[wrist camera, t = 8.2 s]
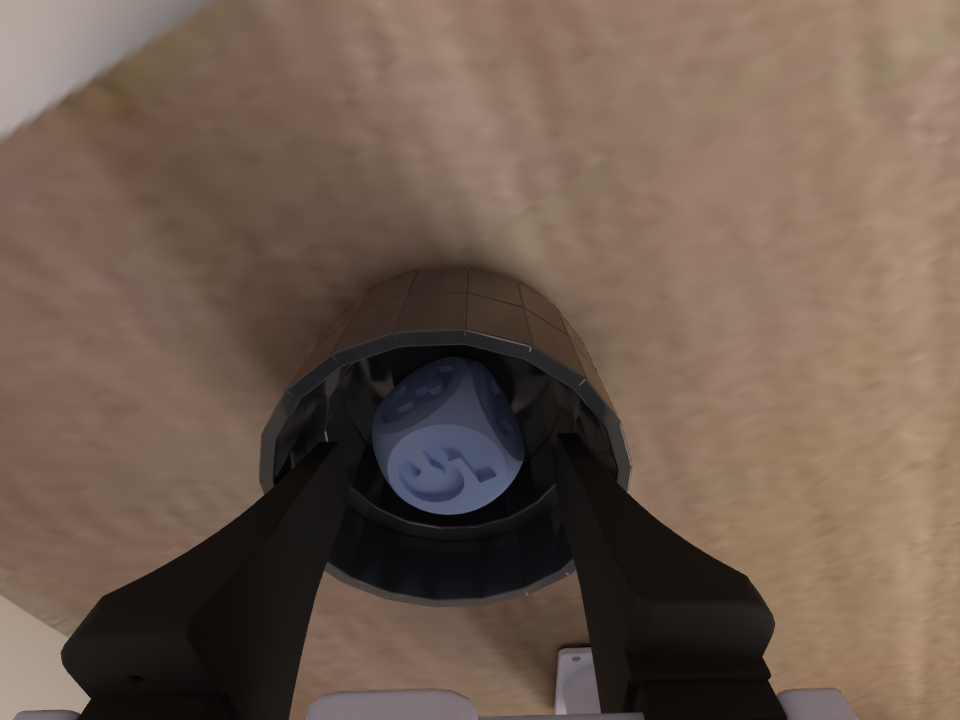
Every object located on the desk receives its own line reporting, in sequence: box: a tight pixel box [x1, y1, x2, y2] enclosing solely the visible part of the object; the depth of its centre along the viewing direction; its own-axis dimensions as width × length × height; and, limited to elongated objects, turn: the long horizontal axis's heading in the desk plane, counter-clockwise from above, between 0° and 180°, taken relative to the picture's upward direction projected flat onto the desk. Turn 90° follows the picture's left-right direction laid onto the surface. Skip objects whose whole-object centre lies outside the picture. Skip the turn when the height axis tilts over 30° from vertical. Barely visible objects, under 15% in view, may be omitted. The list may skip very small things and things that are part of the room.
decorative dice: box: [372, 356, 525, 515], centre depth 16 cm, size 4×4×4 cm
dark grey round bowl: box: [259, 268, 632, 607], centre depth 16 cm, size 11×11×6 cm
